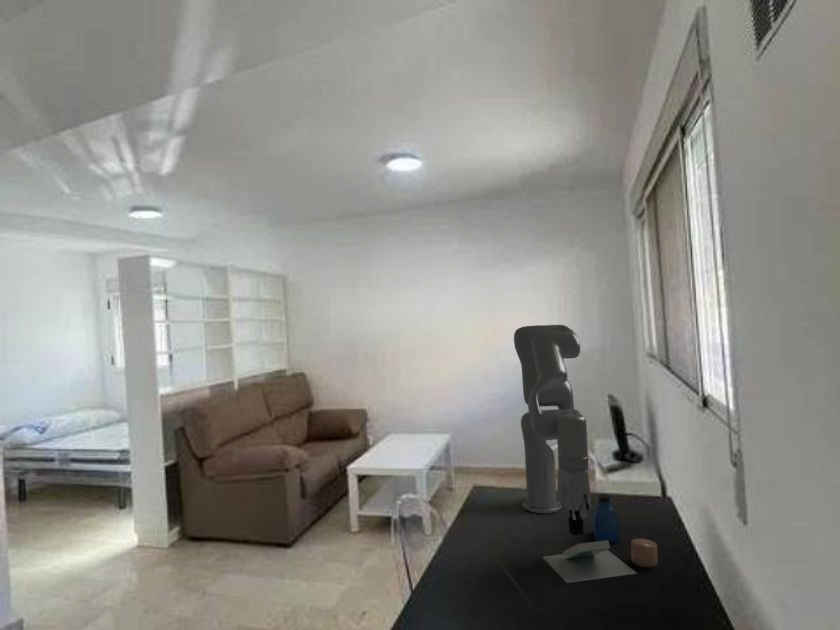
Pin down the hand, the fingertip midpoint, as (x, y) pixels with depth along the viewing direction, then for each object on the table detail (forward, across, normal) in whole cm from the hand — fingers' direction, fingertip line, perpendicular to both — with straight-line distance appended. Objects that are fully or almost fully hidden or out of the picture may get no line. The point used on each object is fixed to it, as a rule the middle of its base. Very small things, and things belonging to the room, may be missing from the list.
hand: (576, 533), depth 136 cm
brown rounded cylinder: (+6, +7, +14) cm, 17 cm away
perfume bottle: (+6, -9, +13) cm, 17 cm away
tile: (+5, +1, 0) cm, 5 cm away
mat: (+6, +5, 0) cm, 8 cm away
